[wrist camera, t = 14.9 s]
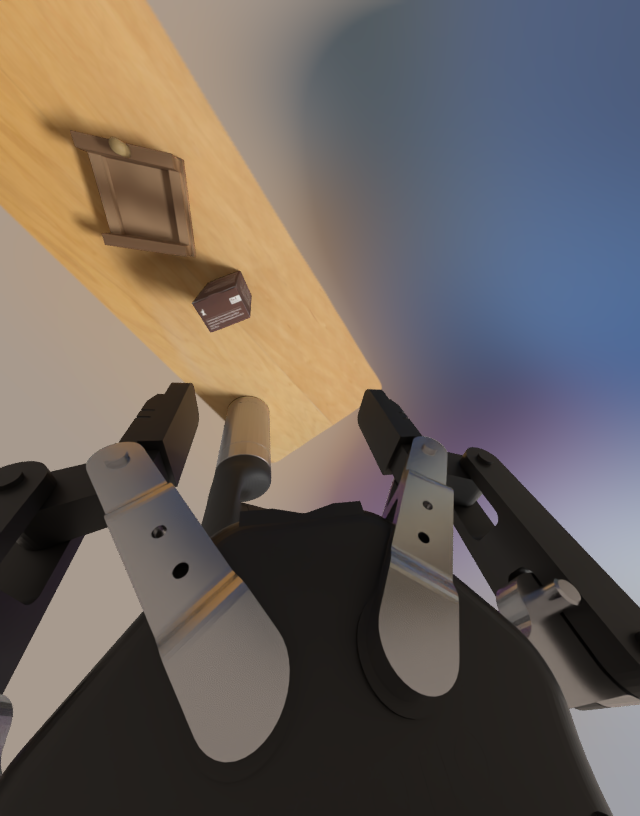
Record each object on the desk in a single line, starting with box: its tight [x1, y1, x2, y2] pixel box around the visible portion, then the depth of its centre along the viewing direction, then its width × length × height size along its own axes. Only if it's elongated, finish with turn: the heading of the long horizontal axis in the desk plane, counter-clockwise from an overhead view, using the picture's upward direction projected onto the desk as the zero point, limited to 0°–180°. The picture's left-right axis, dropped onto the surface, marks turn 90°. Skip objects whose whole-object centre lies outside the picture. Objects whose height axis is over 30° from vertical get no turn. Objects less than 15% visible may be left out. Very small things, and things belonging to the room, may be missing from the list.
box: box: [192, 271, 252, 332], centre depth 35 cm, size 6×4×12 cm
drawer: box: [70, 130, 196, 257], centre depth 30 cm, size 10×10×6 cm
